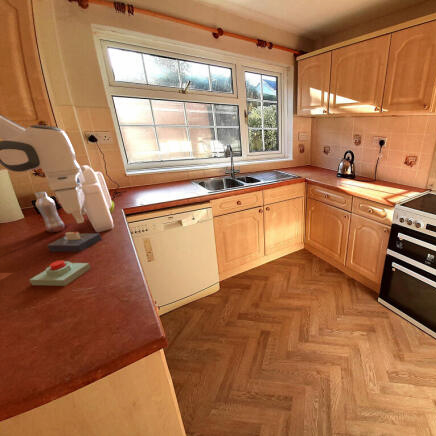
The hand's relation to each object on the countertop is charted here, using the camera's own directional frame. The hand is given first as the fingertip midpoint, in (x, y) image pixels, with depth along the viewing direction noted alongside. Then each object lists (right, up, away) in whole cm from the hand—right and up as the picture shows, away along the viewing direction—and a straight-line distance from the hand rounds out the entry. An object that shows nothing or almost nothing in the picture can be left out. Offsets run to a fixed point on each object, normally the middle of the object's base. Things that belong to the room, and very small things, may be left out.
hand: (82, 218), depth 84 cm
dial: (-21, -9, +21) cm, 31 cm away
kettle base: (-7, -20, 0) cm, 21 cm away
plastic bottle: (-44, -7, +37) cm, 58 cm away
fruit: (-34, +2, +57) cm, 67 cm away
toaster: (-24, -3, +43) cm, 49 cm away
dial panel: (-21, -12, +22) cm, 33 cm away
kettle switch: (-7, -17, -1) cm, 18 cm away
